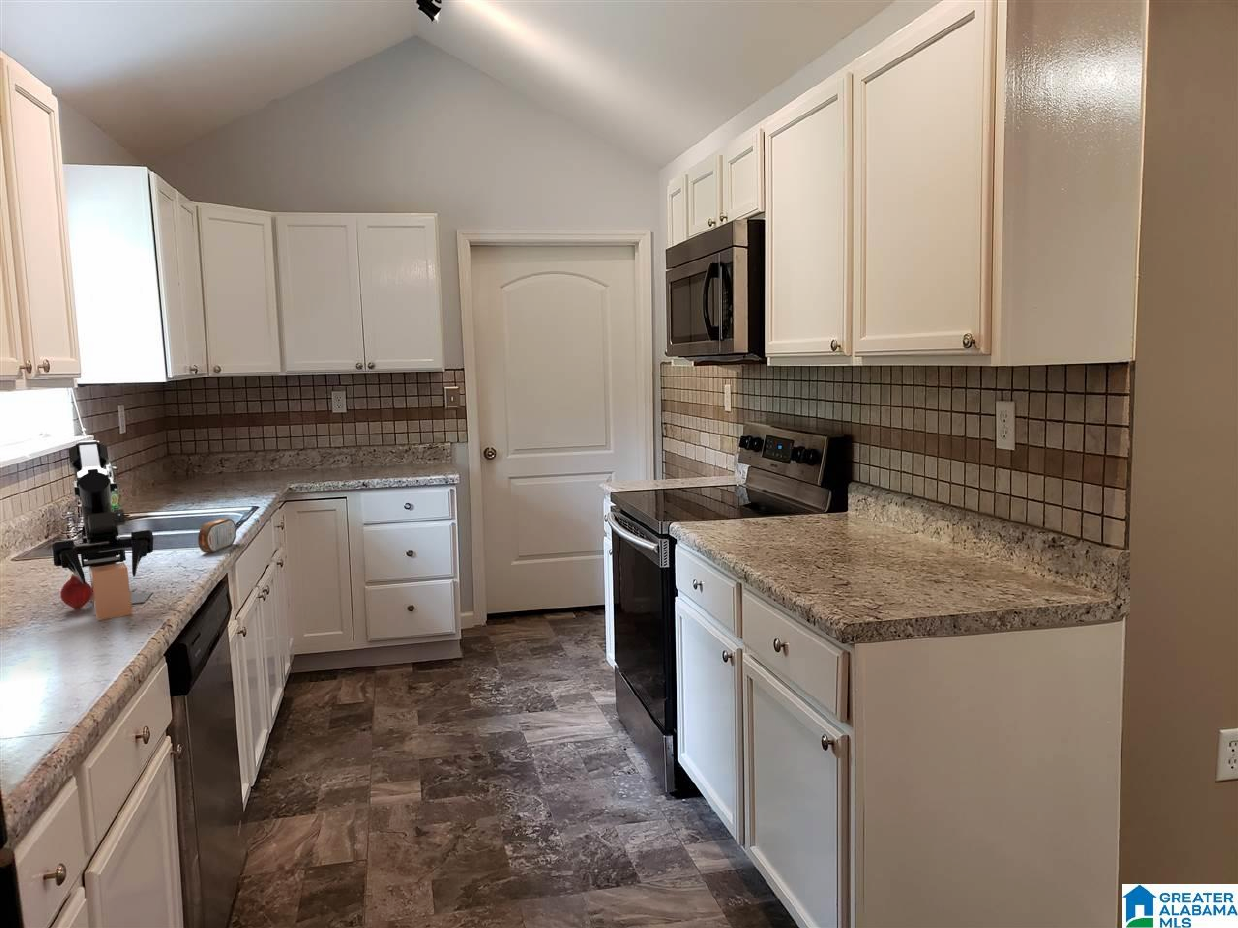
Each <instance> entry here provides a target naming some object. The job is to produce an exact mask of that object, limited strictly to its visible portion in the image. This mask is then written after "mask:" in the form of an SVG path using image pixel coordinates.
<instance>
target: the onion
mask: <svg viewBox="0 0 1238 928" xmlns="http://www.w3.org/2000/svg"><path fill="white" fill-rule="evenodd" d="M70 575H71V576H70V578H69V579H68V580H67V581H66V582H65V583H64V584H63V585H62V587H61V591H60V595H59V596H60V598H61V601H62V602H63V603H64V604H65V605H66V606H68V607H70V608H71V609H74V611H80V610H82V608H83V607H85V606H86V605H87V604H88V603H89V602H90V600H91V599H92V597H93V593H92V589H91V584H89V583H88V582H87V581H86V584H83V583H82V582H81V581H80V580H79V578H78V577H77V576H76V575H75V574H74V573H71V574H70Z"/></svg>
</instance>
